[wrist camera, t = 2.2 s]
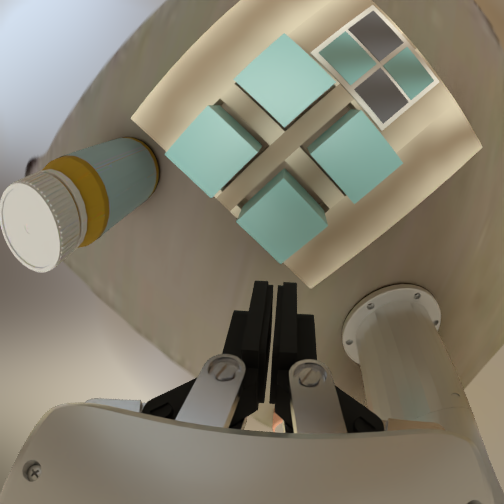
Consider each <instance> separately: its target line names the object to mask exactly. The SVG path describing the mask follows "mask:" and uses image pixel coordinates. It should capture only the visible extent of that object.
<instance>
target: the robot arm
mask: <svg viewBox="0 0 504 504" xmlns="http://www.w3.org/2000/svg"><path fill="white" fill-rule="evenodd" d="M272 303H273V285H268V281H255V283H254V288H253V293H252V298H251V303H250V308H249V311H236V310H234V312H233V315H232V319H231V323H230V327H229V330H228V334H227V338H226V342H225V346H224V349H223V353H222V354H220V355H216V356H213V357H211V358H210V359H209V360H207V362H206V363H205V364H204V366H203V368H202V370H201V372H200V374H199V375H198V377H197V378H195V379H193V380H191V381H189V382H187V383H185V384H183V385H181V386H179V387H177V388H175V389H173V390H170V391H168V392H166V393H164V394H162V395H160V396H158V397H155V398H153V399H151V400H150V401H148V402H147V403H142V402H141V400H118V399H101V398H100V399H99V398H94V399H90V400H87V401H86V402H85V403H66V404H61V405H57V406H55V407H53V408H51V409H50V410H49V411H47V412H46V413H45V414H44V415H43V416H42V418H41V419H40V420H39V422H38V423H37V424H36V426H35V427H34V429H33V430H32V432H31V433H30V435H29V436H28V438H27V440H26V442H25V443H24V445H23V447H22V449H21V450H20V452H19V454H18V456H17V458H16V460H15V462H14V464H13V467H12V469H11V471H10V473H9V475H8V477H7V480H6V482H5V484H4V486H3V489H2V491H1V494H0V504H504V493H503V490H502V488H501V486H500V484H499V481H498V479H497V477H496V474H495V472H494V469H493V467H492V464H491V462H490V460H489V457H488V454H487V451H486V448H485V445H484V443H483V440H482V437H481V435H480V432H479V429H478V426H477V423H476V421H475V418H474V415H473V412H472V410H471V407H470V405H469V402H468V399H467V397H466V394H465V392H464V389H463V387H462V384H461V382H460V380H459V377H458V375H457V373H456V370H455V368H454V366H453V363H452V361H451V359H450V357H449V355H448V352H447V350H446V348H445V346H444V344H443V342H442V340H441V338H440V335H439V333H438V330H439V326H440V323H441V312H440V307H439V305H438V303H437V301H436V300H435V298H434V296H433V295H432V294H431V293H430V292H429V291H427V290H426V289H424V288H422V287H420V286H416V285H412V284H399V285H392V286H388V287H385V288H382V289H380V290H377V291H375V292H373V293H371V294H370V295H368V296H367V297H365V298H364V299H362V300H361V301H360V302H359V303H358V304H357V305H356V306H355V307H354V308H353V309H352V310H351V312H350V313H349V315H348V316H347V318H346V320H345V322H344V325H343V328H342V342H343V347H344V350H345V352H346V353H347V355H348V356H349V357H350V358H351V359H352V360H353V361H354V362H356V363H358V364H360V367H361V373H362V378H363V384H364V390H365V396H366V402H367V408H368V409H367V408H366V407H365V406H363V405H362V404H360V403H359V402H357V401H356V400H355V399H353V398H352V397H350V396H349V395H347V394H346V393H345V392H343V391H342V390H340V389H339V388H338V387H336V386H335V385H334V382H333V378H332V374H331V372H330V370H329V368H328V367H327V366H326V365H325V364H324V363H322V362H320V361H317V355H316V339H315V324H314V315H307V314H297V283H289V282H284V283H283V286H279V285H278V293H277V306H276V318H275V329H274V341H273V353H272V369H271V386H270V402H269V403H270V404H275V410H274V412H275V413H276V414H277V415H278V416H279V417H280V418H281V419H283V423H282V425H283V433H277V432H262V431H250V430H244V428H245V425H246V422H247V416H249V415H250V414H252V413H254V412H255V411H256V410H258V404H259V403H264V399H265V390H266V381H267V372H268V363H269V353H270V343H271V328H272Z"/></svg>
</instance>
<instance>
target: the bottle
mask: <svg viewBox="0 0 504 504" xmlns="http://www.w3.org/2000/svg"><path fill="white" fill-rule="evenodd" d="M158 175H159V169H158V165H157V160H156V158H155V156H154V154H153V152H152V151H151V149H150V148H149V147H148V146H147V145H146V144H144V143H143V142H142V141H140V140H137V139H135V138H128V137H124V138H118V139H115V140H111V141H108V142H104V143H101V144H98V145H95V146H91V147H88V148H85V149H82V150H79V151H76V152H73V153H70V154H67V155H64V156H62V157H59V158H57V159H55V160H53V161H51V162H49V163H48V164H47V165H46V166H45V168H44V169H43V170H42V171H39V172H37V173H35V174H32V175H29V176H27V177H25V178H23V179H20V180H18V181H16V182H14V183H12V184H11V185H10V186H9V187H8V188H7V189H6V190H5V191H4V193H3V195H2V197H1V201H0V225H1V229H2V232H3V235H4V238H5V240H6V242H7V244H8V246H9V248H10V250H11V251H12V253H13V254H14V255H15V257H16V258H17V259H18V260H19V261H20V262H21V263H22V264H23V265H25V266H26V267H27V268H29V269H31V270H33V271H36V272H47V271H49V270H52V269H54V268H55V267H56V266H57V265H58V264H59V263H61V262H62V261H63V260H64V259H65V258H66V257H68V256H69V255H70V254H71V253H72V252H73V251H74V250H75V249H77V248H79V247H84V246H87V245H89V244H91V243H92V242H94V241H95V240H96V239H98V238H99V237H101V236H102V235H103V234H104V233H105V232H107V231H108V230H109V229H110V228H111V227H113V226H114V225H115V224H116V223H118V222H119V221H120V220H121V219H123V218H124V217H125V216H127V215H128V214H129V213H130V212H132V211H133V210H134V209H136V208H137V207H138V206H139V205H141V204H142V203H143V202H145V201H146V200H147V199H148V198H149V197H150V196H151V195H152V193H153V192H154V190H155V188H156V185H157V183H158Z"/></svg>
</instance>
